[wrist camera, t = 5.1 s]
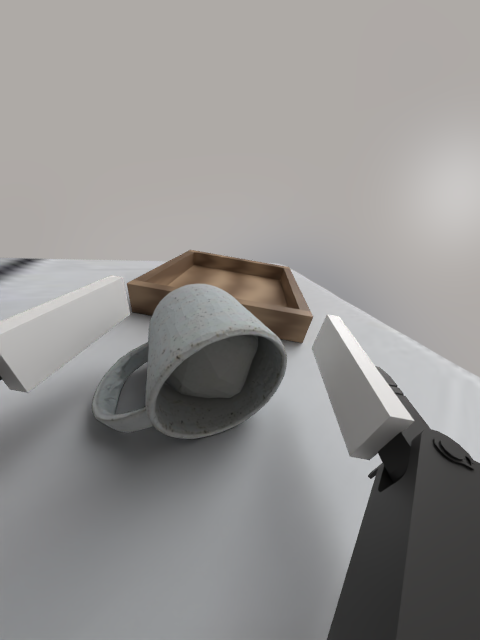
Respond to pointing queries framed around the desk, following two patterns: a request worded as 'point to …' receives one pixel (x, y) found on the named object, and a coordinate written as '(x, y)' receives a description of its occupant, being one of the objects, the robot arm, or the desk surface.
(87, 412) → the desk surface
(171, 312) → the ceramic mug
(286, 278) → the walnut tray
